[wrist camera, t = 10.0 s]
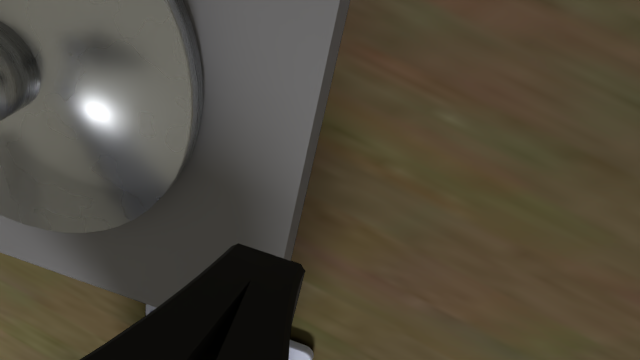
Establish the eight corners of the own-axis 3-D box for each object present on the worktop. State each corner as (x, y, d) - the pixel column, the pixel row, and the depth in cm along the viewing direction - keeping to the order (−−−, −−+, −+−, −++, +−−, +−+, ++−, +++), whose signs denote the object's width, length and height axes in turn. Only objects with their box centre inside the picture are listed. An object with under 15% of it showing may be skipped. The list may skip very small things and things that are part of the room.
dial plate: (278, 314, 24) (263, 347, 23) (-117, 178, 27) (-155, 199, 25) (406, -248, 13) (395, -259, 12) (-292, -408, 15) (-380, -436, 14)
